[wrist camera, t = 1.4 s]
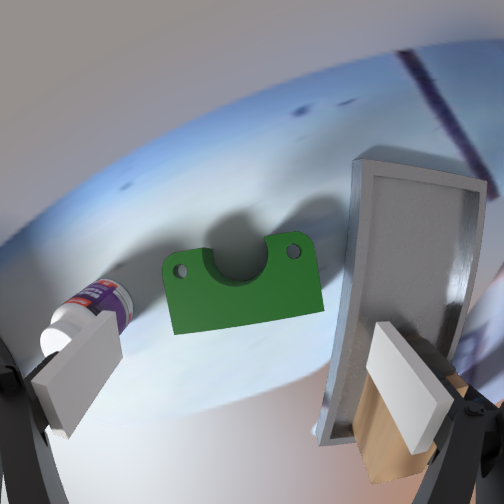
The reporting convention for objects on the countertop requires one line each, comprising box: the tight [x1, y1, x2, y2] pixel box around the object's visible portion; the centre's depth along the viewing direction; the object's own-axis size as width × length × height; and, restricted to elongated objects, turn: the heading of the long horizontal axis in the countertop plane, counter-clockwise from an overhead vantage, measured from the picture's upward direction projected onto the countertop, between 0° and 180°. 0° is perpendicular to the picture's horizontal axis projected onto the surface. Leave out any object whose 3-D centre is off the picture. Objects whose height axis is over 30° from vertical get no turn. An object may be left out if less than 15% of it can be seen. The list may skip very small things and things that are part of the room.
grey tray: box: [316, 159, 487, 446], centre depth 27 cm, size 14×30×2 cm, turn 178°
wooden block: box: [351, 339, 468, 484], centre depth 24 cm, size 6×13×9 cm, turn 178°
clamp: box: [162, 231, 324, 335], centre depth 24 cm, size 12×6×9 cm, turn 94°
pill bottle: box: [40, 279, 133, 357], centre depth 23 cm, size 5×5×10 cm
